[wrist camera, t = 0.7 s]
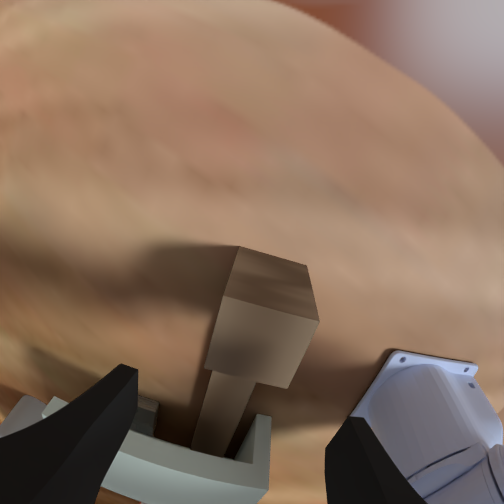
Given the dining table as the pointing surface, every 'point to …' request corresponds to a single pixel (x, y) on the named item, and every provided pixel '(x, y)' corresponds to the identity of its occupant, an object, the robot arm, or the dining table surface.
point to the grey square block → (145, 416)
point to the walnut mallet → (254, 340)
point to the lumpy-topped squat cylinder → (22, 415)
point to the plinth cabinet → (188, 468)
